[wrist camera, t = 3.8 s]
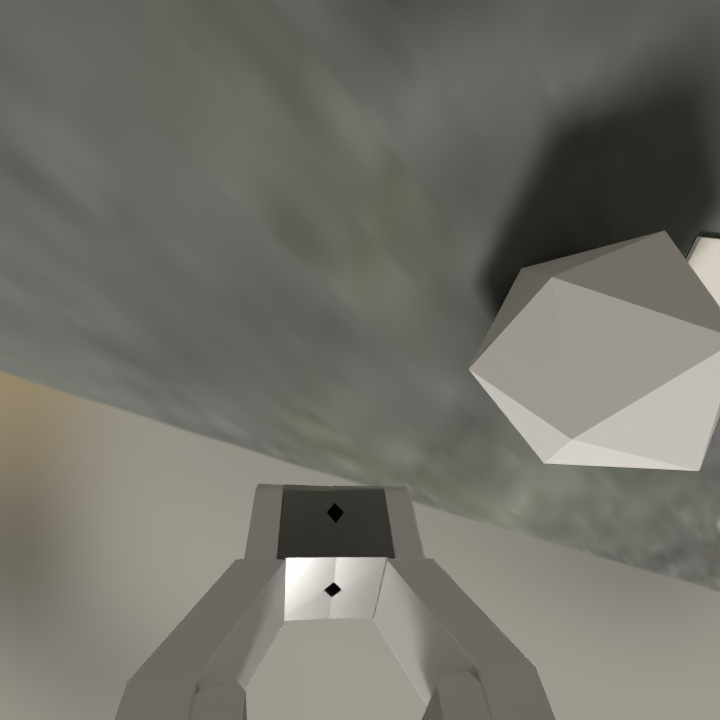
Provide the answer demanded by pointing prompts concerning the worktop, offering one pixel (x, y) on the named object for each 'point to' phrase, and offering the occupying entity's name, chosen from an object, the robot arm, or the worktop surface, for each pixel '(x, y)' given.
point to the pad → (707, 263)
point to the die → (608, 358)
